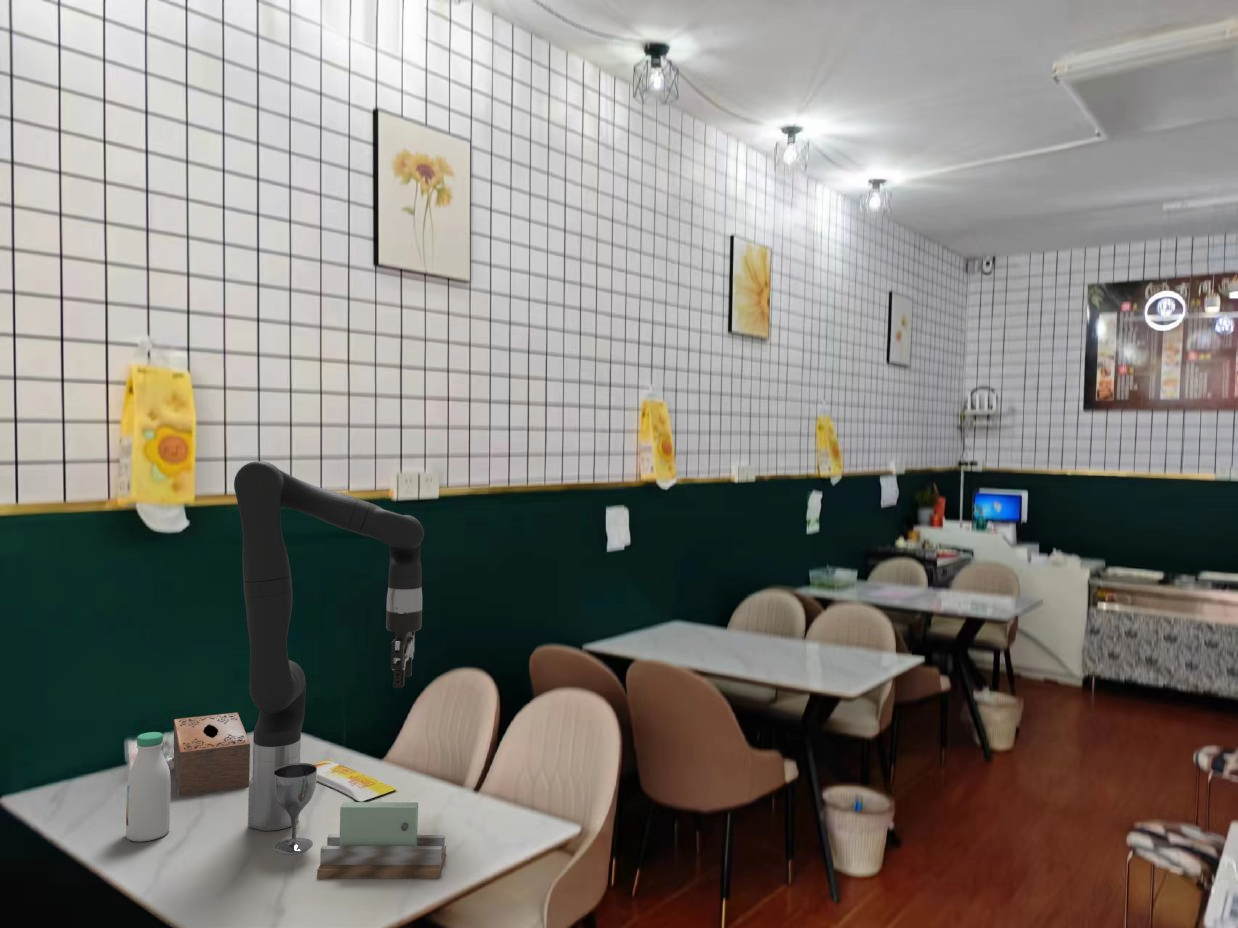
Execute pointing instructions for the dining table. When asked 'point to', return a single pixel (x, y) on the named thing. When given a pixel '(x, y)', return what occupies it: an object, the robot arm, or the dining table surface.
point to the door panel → (378, 824)
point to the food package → (350, 781)
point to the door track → (383, 859)
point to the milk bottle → (148, 791)
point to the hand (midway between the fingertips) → (402, 682)
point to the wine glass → (294, 800)
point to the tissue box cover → (210, 753)
